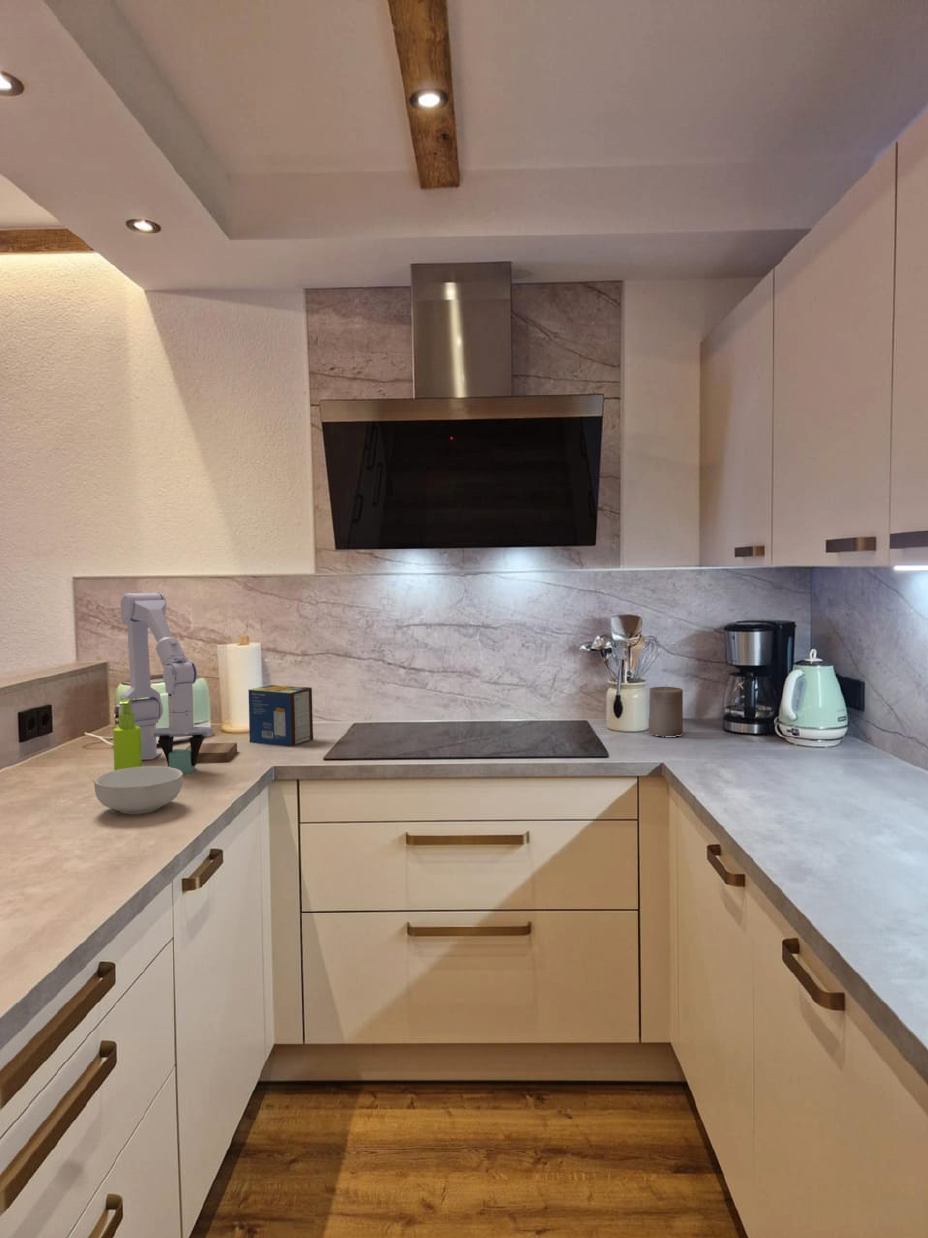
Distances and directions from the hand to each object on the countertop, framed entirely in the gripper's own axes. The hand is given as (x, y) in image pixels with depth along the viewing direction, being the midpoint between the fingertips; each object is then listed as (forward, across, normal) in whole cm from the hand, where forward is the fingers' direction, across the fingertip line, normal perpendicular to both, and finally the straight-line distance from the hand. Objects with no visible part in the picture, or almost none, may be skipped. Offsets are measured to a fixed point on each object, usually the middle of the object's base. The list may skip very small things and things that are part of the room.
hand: (182, 765), depth 198 cm
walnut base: (+2, +3, +15) cm, 15 cm away
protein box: (+2, +19, +34) cm, 39 cm away
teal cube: (+1, 0, 0) cm, 1 cm away
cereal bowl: (+2, 0, -32) cm, 32 cm away
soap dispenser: (+2, -9, -12) cm, 15 cm away
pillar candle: (+2, +132, +30) cm, 135 cm away
